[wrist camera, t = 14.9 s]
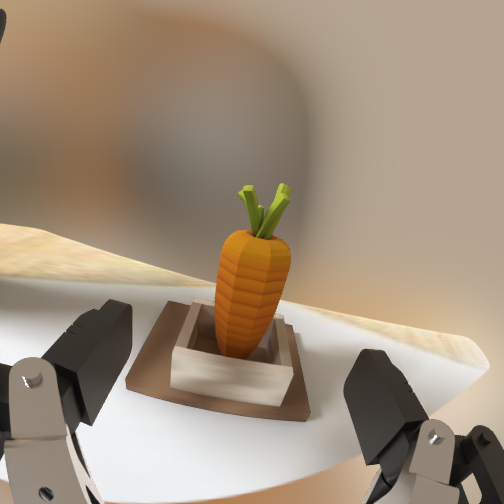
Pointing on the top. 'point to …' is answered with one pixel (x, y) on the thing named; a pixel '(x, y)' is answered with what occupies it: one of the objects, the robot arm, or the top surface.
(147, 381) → the socket board
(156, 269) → the top surface
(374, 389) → the robot arm
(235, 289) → the carrot
